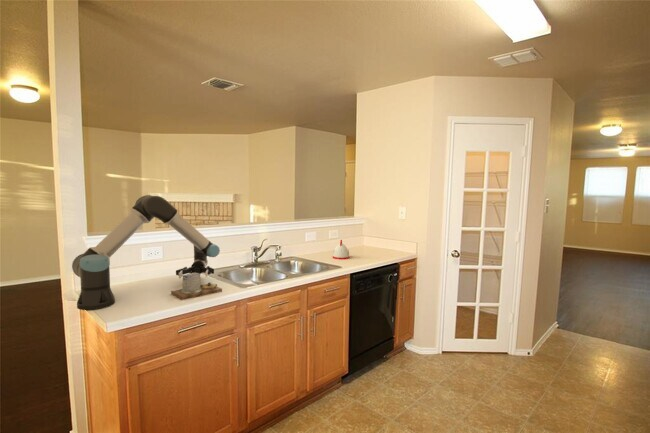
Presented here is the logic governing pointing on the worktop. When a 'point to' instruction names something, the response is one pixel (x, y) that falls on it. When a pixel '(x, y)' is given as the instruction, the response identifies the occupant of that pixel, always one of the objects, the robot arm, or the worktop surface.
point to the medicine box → (191, 282)
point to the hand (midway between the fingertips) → (193, 275)
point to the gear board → (197, 291)
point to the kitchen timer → (340, 252)
